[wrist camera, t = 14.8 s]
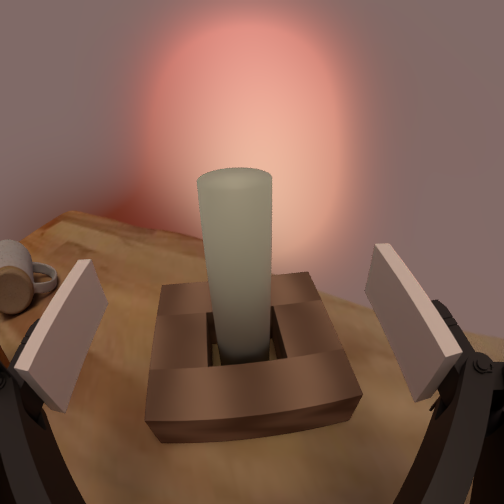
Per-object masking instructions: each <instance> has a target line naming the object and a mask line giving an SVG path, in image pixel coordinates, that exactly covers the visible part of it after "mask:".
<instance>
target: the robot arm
mask: <svg viewBox="0 0 504 504" xmlns="http://www.w3.org/2000/svg"><path fill="white" fill-rule="evenodd" d="M365 293H366V295H367V297H368V299H369V301H370V303H371V305H372V307H373V309H374V311H375V313H376V315H377V318H378V320H379V322H380V324H381V326H382V328H383V330H384V332H385V335H386V337H387V339H388V341H389V343H390V346H391V348H392V350H393V352H394V354H395V357H396V359H397V361H398V364H399V366H400V368H401V371H402V373H403V375H404V378H405V380H406V383H407V385H408V387H409V390H410V392H411V395H412V397H413V400H414V402H418V401H421V400H425V399H428V398H431V397H432V395H433V394H434V393H435V391H436V390H437V389H438V391H439V394H440V396H439V398H438V399H437V400H436V401H435V403H434V404H433V405H432V406H431V408H430V410H429V411H432V410H433V409H434V408H435V409H434V412H433V415H432V417H431V420H430V423H429V426H428V429H427V431H426V434H425V436H424V439H423V442H422V444H421V446H420V449H419V451H418V454H417V456H416V458H415V460H414V463H413V465H412V467H411V469H410V471H409V473H408V476H407V478H406V480H405V482H404V484H403V486H402V488H401V490H400V491H399V493H398V495H397V497H396V499H395V501H394V503H393V504H464V502H465V499H466V497H467V494H468V491H469V489H470V486H471V483H472V480H473V486H472V493H471V500H470V504H504V362H493V361H492V360H491V359H490V358H489V357H488V356H487V355H485V354H484V353H480V352H475V351H474V349H473V348H472V346H471V344H470V343H469V341H468V339H467V338H466V336H465V335H464V333H463V331H462V330H461V328H460V327H459V326H458V325H457V322H456V321H455V319H454V318H452V315H451V313H450V312H449V310H448V309H447V307H445V306H444V305H443V304H442V303H441V302H439V301H438V300H432V301H431V300H430V299H429V297H428V296H427V294H426V293H425V292H424V290H423V289H422V287H421V286H420V284H419V283H418V282H417V280H416V279H415V277H414V276H413V275H412V273H411V272H410V270H409V269H408V268H407V266H406V265H405V264H404V262H403V261H402V260H401V258H400V257H399V256H398V254H397V253H396V252H395V250H394V249H393V248H392V246H391V245H390V244H389V243H386V244H385V243H384V244H375V245H374V250H373V255H372V260H371V265H370V269H369V274H368V278H367V283H366V287H365ZM107 305H108V302H107V299H106V297H105V294H104V292H103V289H102V287H101V284H100V282H99V279H98V276H97V274H96V271H95V268H94V266H93V263H92V260H91V259H87V260H78V261H77V263H76V264H75V266H74V267H73V269H72V270H71V272H70V273H69V274H68V276H67V277H66V279H65V280H64V282H63V283H62V285H61V286H60V288H59V290H58V291H57V293H56V294H55V296H54V297H53V299H52V300H51V302H50V304H49V305H48V307H47V309H46V310H45V312H44V314H43V315H42V317H41V319H37V320H36V321H35V322H34V323H33V324H32V325H31V326H30V328H29V329H28V331H27V333H26V335H25V337H24V338H23V340H22V342H21V345H19V347H18V349H17V351H16V353H15V355H14V357H13V359H12V361H11V363H10V365H9V367H8V369H7V368H6V367H5V366H4V365H3V363H2V362H1V361H0V504H86V503H85V501H84V499H83V498H82V496H81V494H80V492H79V490H78V488H77V486H76V484H75V482H74V480H73V478H72V476H71V474H70V472H69V470H68V468H67V466H66V464H65V461H64V459H63V457H62V455H61V452H60V450H59V448H58V445H57V443H56V440H55V438H54V435H53V432H52V430H51V427H50V424H49V421H48V419H47V416H46V413H45V411H44V409H43V408H42V406H43V403H45V404H46V405H47V406H48V407H49V408H50V409H51V410H54V411H58V412H62V413H66V410H67V407H68V404H69V401H70V398H71V395H72V392H73V389H74V386H75V384H76V381H77V378H78V375H79V373H80V370H81V367H82V365H83V362H84V360H85V357H86V354H87V352H88V349H89V347H90V345H91V342H92V340H93V337H94V335H95V332H96V330H97V328H98V325H99V323H100V321H101V319H102V316H103V314H104V312H105V310H106V307H107ZM473 477H474V479H473Z"/></svg>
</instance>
